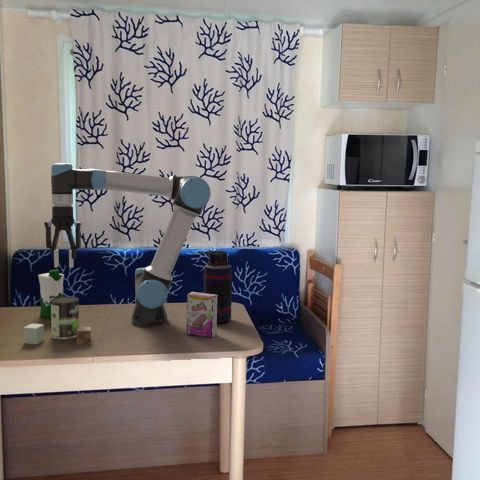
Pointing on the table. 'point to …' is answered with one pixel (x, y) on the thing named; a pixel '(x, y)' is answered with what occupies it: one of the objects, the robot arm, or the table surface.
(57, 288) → the milk carton
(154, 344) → the table surface
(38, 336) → the sage block
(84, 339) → the brown wooden cube
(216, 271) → the dark capped bottle
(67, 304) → the coffee can
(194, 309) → the candy bar box
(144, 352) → the table surface
